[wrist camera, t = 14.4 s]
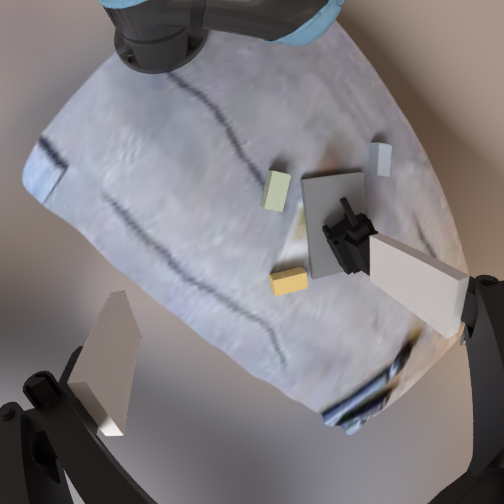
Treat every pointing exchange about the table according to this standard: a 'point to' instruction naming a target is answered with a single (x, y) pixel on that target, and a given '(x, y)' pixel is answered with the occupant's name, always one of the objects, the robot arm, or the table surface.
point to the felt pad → (329, 214)
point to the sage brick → (275, 190)
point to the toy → (351, 240)
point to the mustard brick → (288, 281)
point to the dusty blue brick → (380, 159)
